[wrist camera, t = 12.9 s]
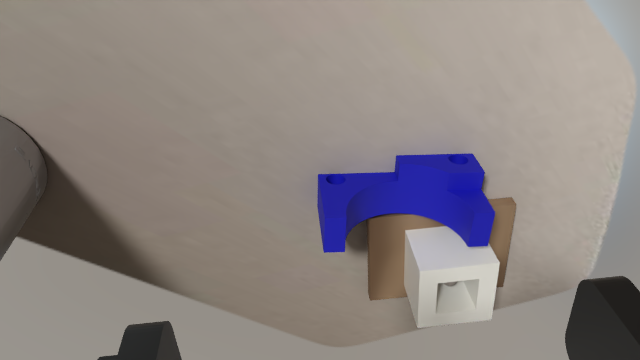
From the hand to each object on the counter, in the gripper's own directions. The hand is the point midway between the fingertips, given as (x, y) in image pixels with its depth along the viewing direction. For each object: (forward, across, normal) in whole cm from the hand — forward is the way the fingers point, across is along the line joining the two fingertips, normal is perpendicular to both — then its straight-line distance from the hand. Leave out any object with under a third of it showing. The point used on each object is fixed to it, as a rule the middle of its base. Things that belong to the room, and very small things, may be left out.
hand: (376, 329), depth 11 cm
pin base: (+28, -10, +22) cm, 37 cm away
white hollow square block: (+27, -10, +22) cm, 36 cm away
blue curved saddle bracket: (+28, -6, +15) cm, 33 cm away
